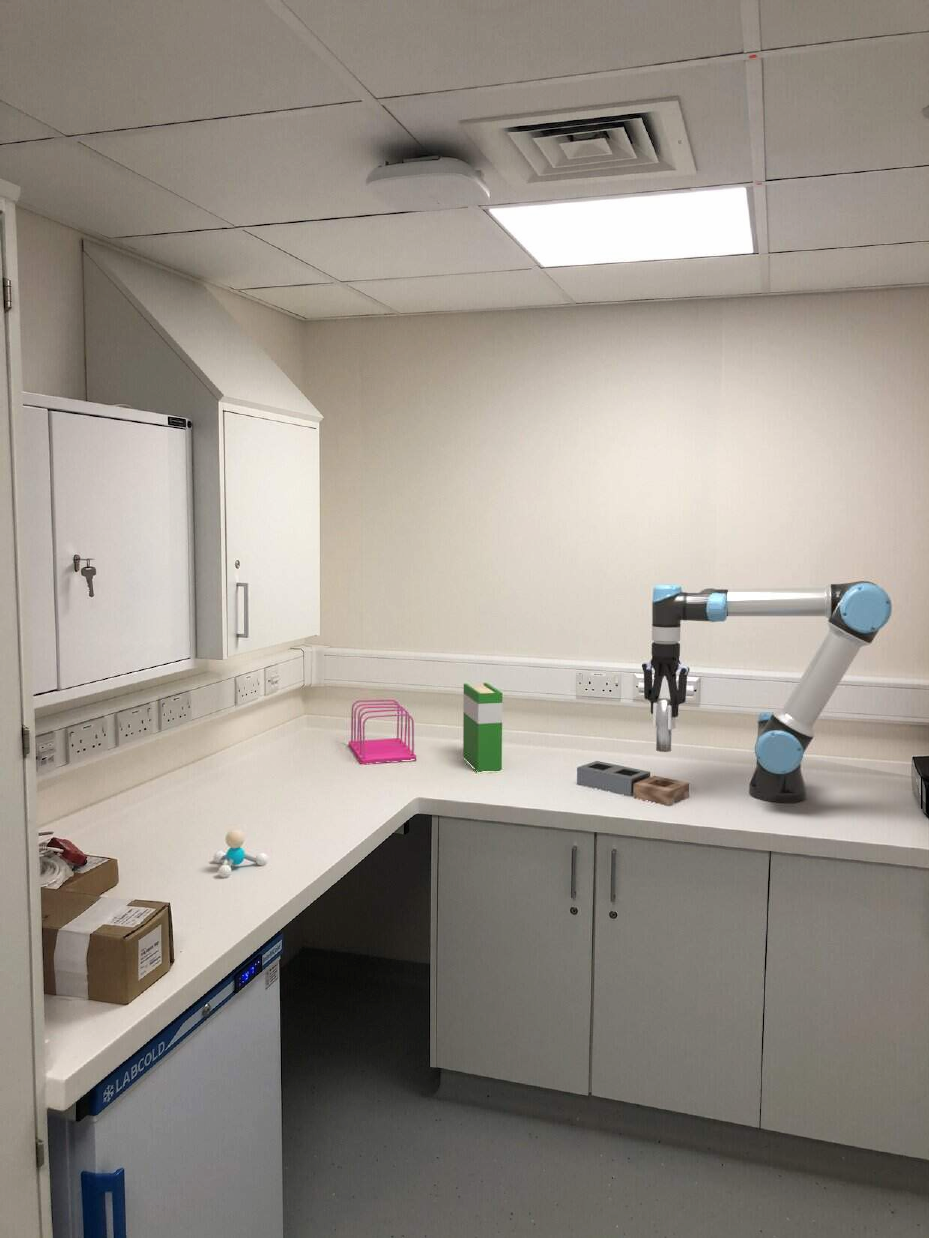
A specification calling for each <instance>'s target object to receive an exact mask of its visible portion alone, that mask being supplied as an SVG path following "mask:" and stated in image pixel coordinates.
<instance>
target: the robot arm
mask: <svg viewBox="0 0 929 1238" xmlns="http://www.w3.org/2000/svg"><path fill="white" fill-rule="evenodd" d="M651 605H652V606H651V607H652V608H651V612H652V615H651V616H652V617H651V618H652V620H651V641H652V643H651V659H650V661H649V662H644V663H642V664H641V668H642V672H643V689H644V690H643V693H644V694H643V697H644V699H645V700H648V701H649V702H650V714H651V715H652V727H653V728H657V699H659V698H660V693H661V688H662V684H663V681H664V680H663V679H664V677H665V679H666V681H667V686H668V692H669V699H670V700H671V704H670V705H668V729H669V730H671V729H672V730H673V729H676V718H678V716H679V706H680V705H681V704H685V703H686V701H687V700H686V697H687V686H688V685H687V682H688V675H689V672H690V667H688V666H686V667H685V666H684V665H682V663H681V660H680V655H681V644H680V643H679V642H680V641H681V625H682V624H681V622H682V621H691V622H692V621H694V622H710V623H718V622H725V621H726V620H727V618H728V617H825V618H826V619H827V625H828V628H829V630H828V632H827V634H826V636H825V637H824V639H823V640H822V643H821V644H820V646H819V647H818V649H817V651H816V653H815V654H814V656H813V657H812V659H811V661H810V663H809V664H808V666H807V667H806V669H805V671H804V673H803V674H802V675H801V678H800V680H799V681H798V683H797V684H796V686H795V687H794V689H793V691H792V692H791V694H790V696H789V697H788V699H787V701H786V702H785V704H784V706H783V708H782V709H779V710H776V711H773V712H771V711H770V712H769V711H767V712H766V711H765V712H764V711H763V712H761V713H759V714H758V720H757V738H756V742H755V744H754V745H755V746H754V753H755V756H756V766H755V769H754V771H753V774H752V776H751V779H750V782H749V785H748V794H749V795H750V796H752V797H754V798H756V799H760V800H764V801H768V802H774V803H798V802H803V801H804V800H806V799H807V787H806V784H805V781H804V776H803V774H802V769H801V767H802V766H801V765H802V762H803V759H804V753H805V752H806V750H807V748H808V747H809V746H810V744H811V742H812V740H813V739H814V737H815V732H814V725H815V723H816V722H817V720H818V718H820V717H819V716H821V714H822V712H823V711H824V708H825V707H826V705H827V704H828V702H829V701H830V698H832V696H833V694H834V692H835V691H836V689H837V687H838V685H840V682H842V680H843V678H844V676H845V674H846V673H847V672H848V670H849V668H850V666H851V665H852V663H853V661H854V659H855V658H856V657H857V656H858V653H859V651H860V650H861V648H863V647H866V646H870V645H872V642H873V641H874V639H875V638H876V636H877V634H878V632H879V631H880V630H881V629H882V628H883V627H884V626H886V624H887V623H888V622H889V621H890V620H889V619H890V618H891V616H892V610H893V608H892V602H891V598H890V596H889V595H888V593H887V592H886V591H885V589H883V588H881V587H880V586H878V585H877V584H876V583H873V582H871V581H866V580H861V581H860V580H859V581H852V582H845V583H844V582H843V583H829V584H827V586H826V587H809V588H807V587H804V588H798V587H795V588H787V587H786V588H728V589H724V588H723V589H722V588H721V589H717V588H711V587H710V588H709V587H708V588H705V589H704V588H703V589H702V590H701V591H699V592H684V591H683V590H682V586H681V585H680V584H672V583H671V584H666V583H665V584H664V583H663V584H662V583H661V584H657V585H655V586H654V587H653V591H652V600H651ZM653 670H654V674H653ZM677 672H678V682H677ZM677 683H678V684H677Z"/></svg>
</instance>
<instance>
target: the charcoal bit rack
mask: <svg viewBox="0 0 929 1238" xmlns="http://www.w3.org/2000/svg"><path fill="white" fill-rule="evenodd" d="M576 773H577V774H576V785H578V786H582V785H584V786H583V787H586V786H587V787H586V788H590V787H591V789H595V788H597V789H596V790H599V789H601V790H600V791H603V790H604V792H608V791H610V792H609V793H612V792H613V793H614V794H616V795H617V794H618V795H621V794H624V795H623V796H625V795H627V796H626V797H629V798H630V797H631V796H632V797H633V786H634V783H637V782H639V781H642V780H644V779H647V778H650V777H651V771H647V770H643V769H640V768H639V769H638V768H633V767H630V766H624V765H619V764H614V763H609V762H606V761H605V762H604V761H599V760H595V761H592V762H588V763H586V764H583V765H581V766H577V767H576ZM613 793H612V794H613ZM632 797H631V798H632Z"/></svg>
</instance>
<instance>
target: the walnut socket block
mask: <svg viewBox="0 0 929 1238" xmlns="http://www.w3.org/2000/svg"><path fill="white" fill-rule="evenodd" d="M690 784H691V783H690V782H687V781H682V780H675V779H673V778H667V777H662V776H659V775H652V776H650V778H647V779H644V780H642V781H639V782H637V783H634V786H633V796H632V797H634V798H633V799H636V798H638V799H637V800H640V799H642V800H641V801H644V800H648V801H647V802H649V801H651V802H650V803H653V802H655V803H654V804H657V803H661V804H660V805H662V804H664V805H663V806H666V805H667V807H670V806H673V805H674V804H673V803H675V804H677V803H680V802H682V801H683V800H686V799H688V797H689V798H690ZM681 800H682V801H681ZM672 804H673V805H672Z"/></svg>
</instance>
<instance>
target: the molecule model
mask: <svg viewBox="0 0 929 1238" xmlns="http://www.w3.org/2000/svg"><path fill="white" fill-rule="evenodd" d="M225 842H226V843H225V844H226V845H227V847H229V849H228V850H227V851H226V853H225V852H224V851H222V850H219V851H218V850H217V851H216V852H215V853H214V855H213V861H214V862H215V863H216V864H223V863H224V862H225V861H227V863H226V864H223V865H220V867H219V869H218V871H217V873H218V875H219V877H220V878H223V879H226V878H228V877H230V876H231V875H232V866H238V865H240V864H242V863H243V861H244V860H247V861H250V862H252V863H254V864H257V866H266V864H267V863H268V861H269V856H268V855H267V853H263V852H262V853H261V852H260V853H258V854H257V855H256V856H255V857H254V856H252V855H249V854H246V853H245V850H244V849H243V848H242V846H243V844H244V842H245V835H244V833H243V832H242V831H241V830H240V829H232V830H230V831H228V832H227V834H226V836H225Z"/></svg>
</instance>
